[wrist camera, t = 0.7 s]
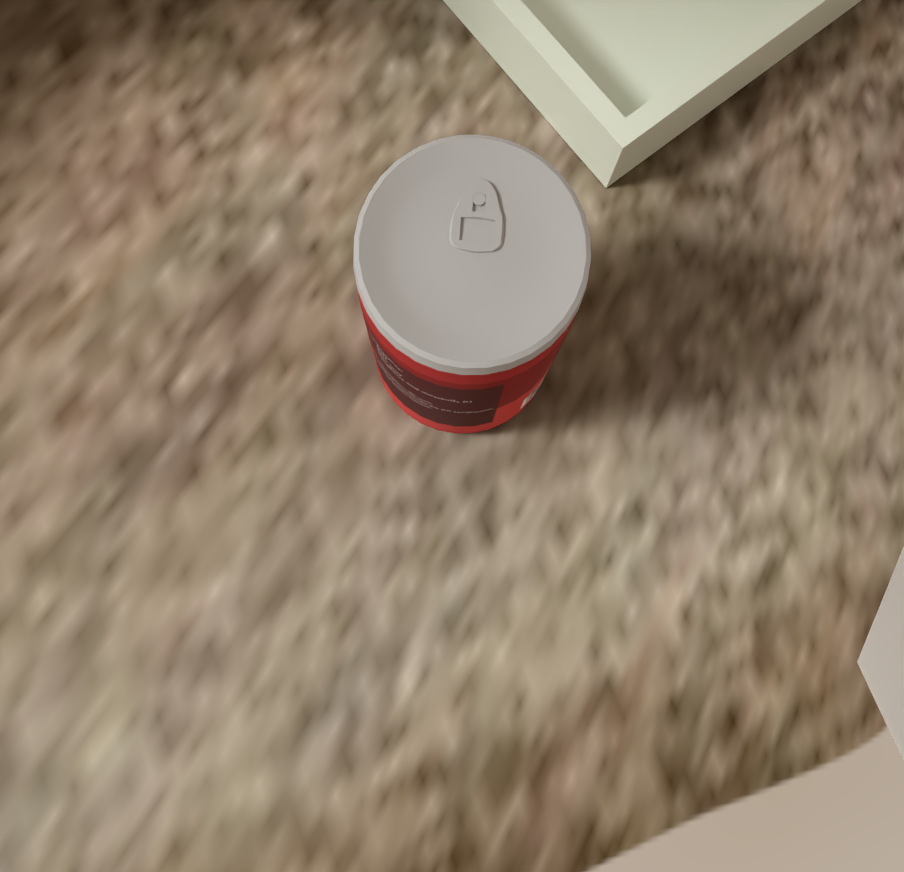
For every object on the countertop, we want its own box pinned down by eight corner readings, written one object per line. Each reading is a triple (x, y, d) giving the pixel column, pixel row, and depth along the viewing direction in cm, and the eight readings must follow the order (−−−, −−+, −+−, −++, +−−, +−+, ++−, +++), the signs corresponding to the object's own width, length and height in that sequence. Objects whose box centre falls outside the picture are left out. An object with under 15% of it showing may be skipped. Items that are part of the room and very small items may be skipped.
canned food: (528, 250, 38) (564, 113, 28) (565, 420, 37) (619, 346, 26) (360, 279, 38) (331, 151, 27) (391, 452, 36) (373, 390, 26)
